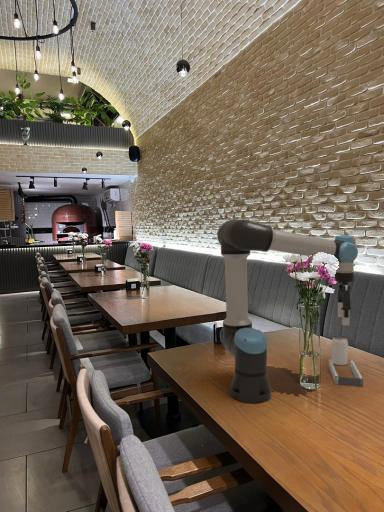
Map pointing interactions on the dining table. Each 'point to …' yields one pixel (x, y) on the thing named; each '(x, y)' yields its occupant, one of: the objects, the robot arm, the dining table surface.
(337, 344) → the can
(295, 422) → the dining table surface
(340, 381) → the grey flat u-shaped frame
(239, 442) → the dining table surface
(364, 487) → the dining table surface
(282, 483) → the dining table surface
